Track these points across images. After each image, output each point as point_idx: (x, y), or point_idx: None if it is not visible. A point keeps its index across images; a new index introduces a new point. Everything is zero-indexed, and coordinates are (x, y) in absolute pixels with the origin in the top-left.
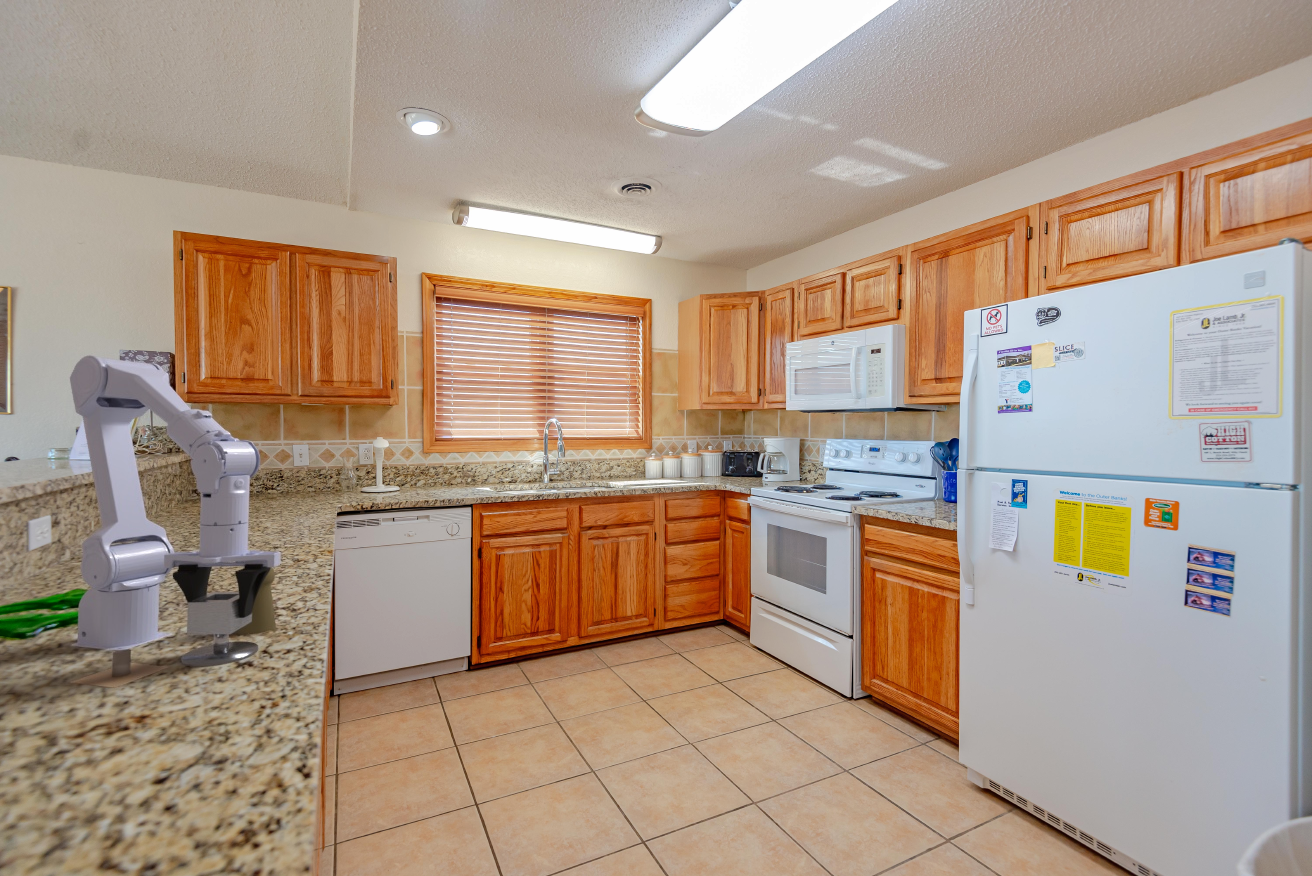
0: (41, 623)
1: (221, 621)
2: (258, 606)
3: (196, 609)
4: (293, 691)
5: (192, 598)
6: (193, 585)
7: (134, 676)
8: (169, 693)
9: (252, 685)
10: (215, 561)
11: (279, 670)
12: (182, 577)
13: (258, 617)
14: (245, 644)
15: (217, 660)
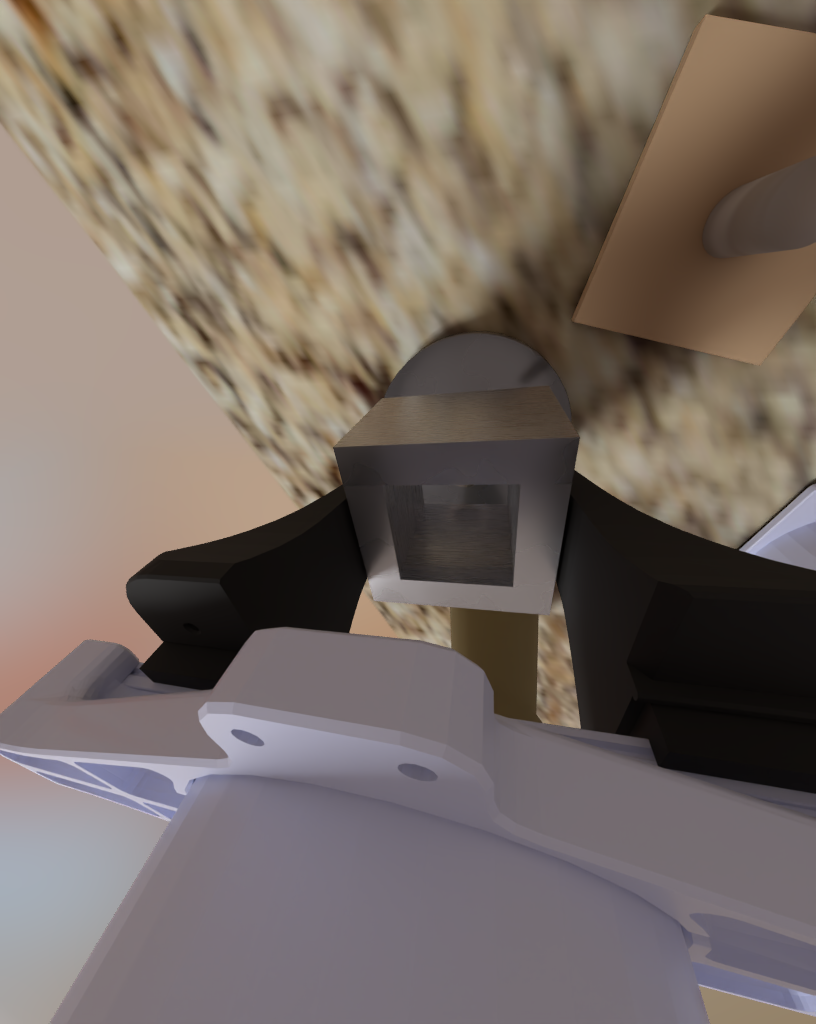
0: None
1: (404, 411)
2: (467, 637)
3: (518, 423)
4: (86, 158)
5: (583, 502)
6: (601, 555)
7: (666, 197)
8: (445, 65)
9: (233, 203)
10: (238, 657)
11: (258, 343)
12: (728, 577)
13: (467, 609)
14: (436, 493)
15: (432, 363)
